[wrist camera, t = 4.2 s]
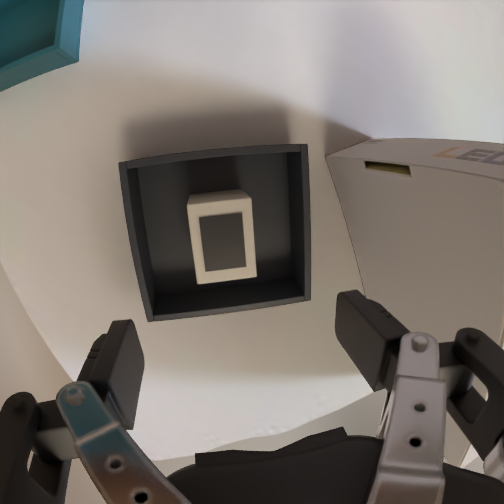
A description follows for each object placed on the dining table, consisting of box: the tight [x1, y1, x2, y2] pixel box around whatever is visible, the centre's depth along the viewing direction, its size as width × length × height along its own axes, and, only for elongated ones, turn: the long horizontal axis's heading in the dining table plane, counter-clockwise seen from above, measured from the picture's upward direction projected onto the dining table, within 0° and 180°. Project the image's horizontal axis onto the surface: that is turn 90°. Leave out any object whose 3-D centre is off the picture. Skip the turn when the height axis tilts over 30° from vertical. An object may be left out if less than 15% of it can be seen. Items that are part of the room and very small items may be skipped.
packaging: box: [325, 138, 504, 468], centre depth 23 cm, size 30×6×20 cm, turn 22°
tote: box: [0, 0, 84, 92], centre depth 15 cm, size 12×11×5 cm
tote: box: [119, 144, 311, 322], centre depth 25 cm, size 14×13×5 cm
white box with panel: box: [187, 189, 257, 284], centre depth 24 cm, size 4×6×6 cm
